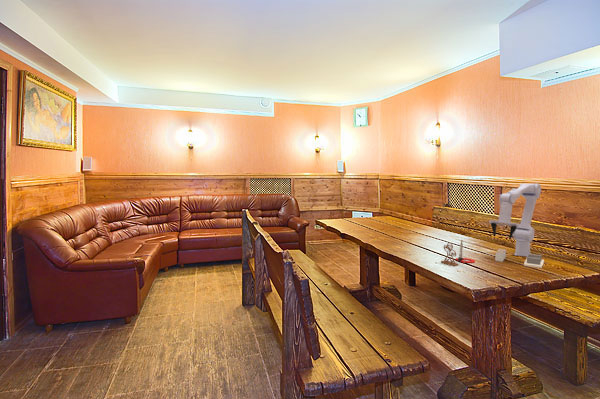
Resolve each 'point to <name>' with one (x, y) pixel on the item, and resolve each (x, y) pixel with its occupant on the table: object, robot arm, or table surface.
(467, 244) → the table surface
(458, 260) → the tow hook
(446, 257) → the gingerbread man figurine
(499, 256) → the white long rectangular piece
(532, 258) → the peg rack
